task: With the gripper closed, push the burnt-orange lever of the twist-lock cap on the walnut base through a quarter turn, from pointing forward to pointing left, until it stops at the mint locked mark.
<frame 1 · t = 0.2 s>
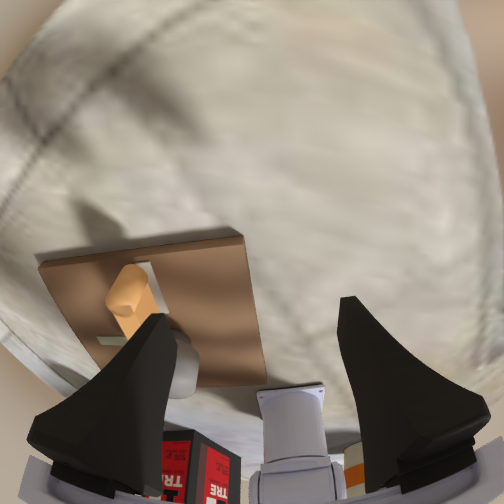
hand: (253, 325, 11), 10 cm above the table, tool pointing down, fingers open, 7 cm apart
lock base: (177, 330, 25), on the table
reusable coffee cup: (364, 445, 46), on the table
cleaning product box: (199, 446, 43), on the table
lock cap: (152, 342, 20), point 4 cm above the table, hinge at 0.0°
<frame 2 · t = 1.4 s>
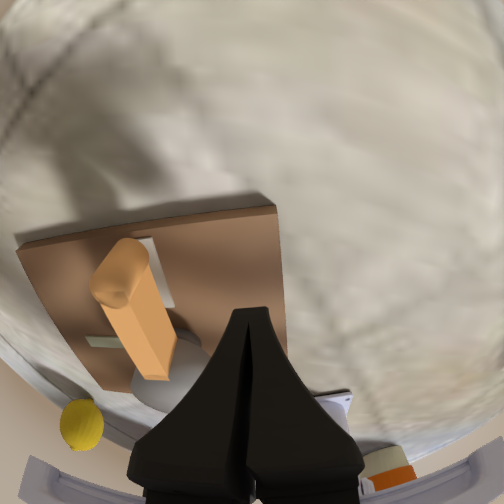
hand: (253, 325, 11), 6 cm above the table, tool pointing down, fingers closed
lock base: (184, 330, 21), on the table
reusable coffee cup: (380, 454, 41), on the table
lemon: (91, 397, 29), on the table
lock cap: (153, 344, 15), point 4 cm above the table, hinge at 0.0°
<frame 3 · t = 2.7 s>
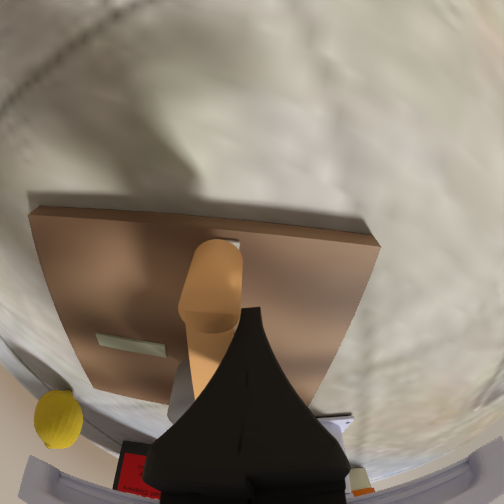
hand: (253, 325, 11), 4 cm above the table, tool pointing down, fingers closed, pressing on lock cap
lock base: (220, 343, 18), on the table
reusable coffee cup: (343, 473, 42), on the table
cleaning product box: (172, 460, 35), on the table
lemon: (70, 389, 24), on the table
lock cap: (214, 366, 13), point 5 cm above the table, hinge at 1.5°, touching gripper
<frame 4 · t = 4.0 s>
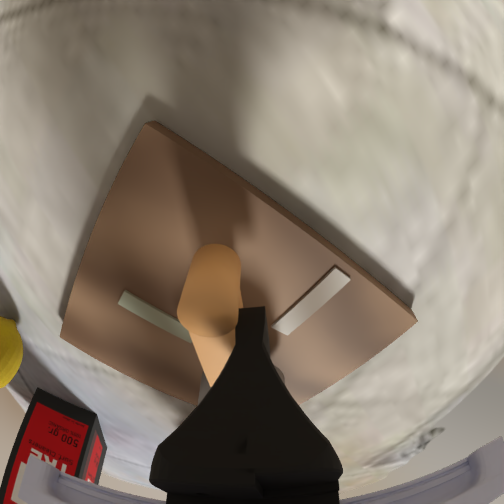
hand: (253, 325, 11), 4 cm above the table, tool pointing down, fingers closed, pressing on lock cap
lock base: (244, 345, 19), on the table
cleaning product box: (76, 422, 30), on the table
lemon: (14, 319, 19), on the table
lock cap: (232, 368, 13), point 5 cm above the table, hinge at 43.0°, touching gripper
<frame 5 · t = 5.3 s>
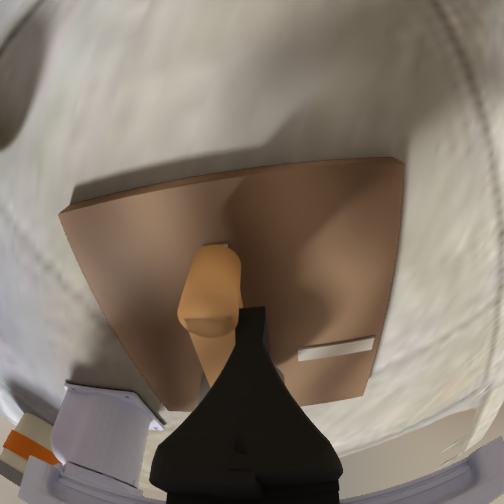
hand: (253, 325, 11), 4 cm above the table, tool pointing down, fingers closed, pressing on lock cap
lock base: (243, 345, 19), on the table
reusable coffee cup: (44, 424, 35), on the table
lock cap: (232, 369, 13), point 4 cm above the table, hinge at 88.1°, touching gripper
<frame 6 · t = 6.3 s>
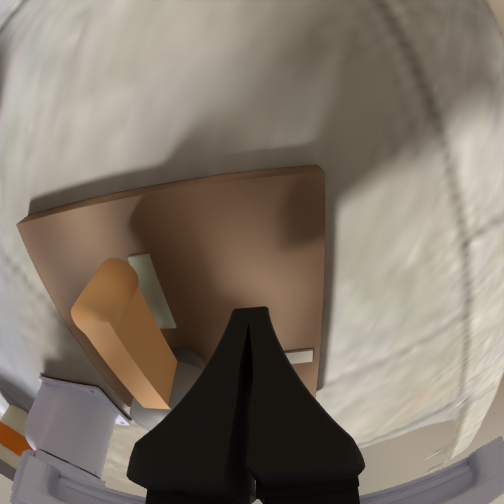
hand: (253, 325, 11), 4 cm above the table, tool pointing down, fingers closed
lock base: (185, 348, 19), on the table
reusable coffee cup: (28, 417, 35), on the table
lock cap: (151, 370, 13), point 5 cm above the table, hinge at 92.8°
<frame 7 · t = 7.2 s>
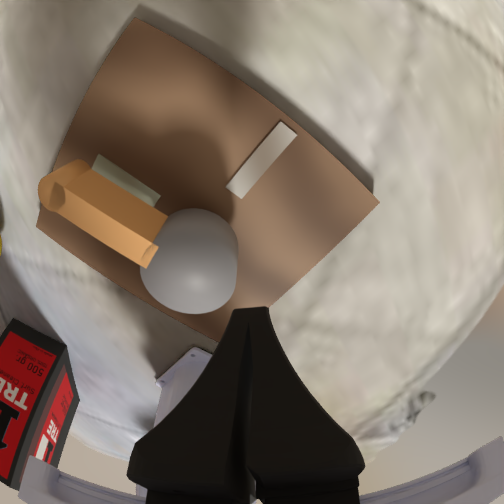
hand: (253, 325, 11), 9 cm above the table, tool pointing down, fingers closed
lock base: (203, 224, 19), on the table
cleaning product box: (48, 364, 31), on the table
lock cap: (136, 228, 14), point 4 cm above the table, hinge at 92.8°
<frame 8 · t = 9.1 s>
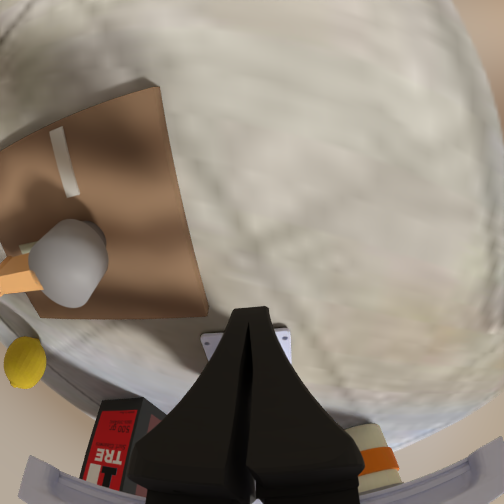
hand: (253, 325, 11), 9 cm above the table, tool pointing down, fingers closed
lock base: (96, 231, 20), on the table
reusable coffee cup: (355, 433, 40), on the table
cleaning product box: (156, 423, 37), on the table
lemon: (38, 338, 28), on the table
lock cap: (36, 269, 16), point 4 cm above the table, hinge at 92.8°
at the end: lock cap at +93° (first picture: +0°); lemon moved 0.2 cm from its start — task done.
